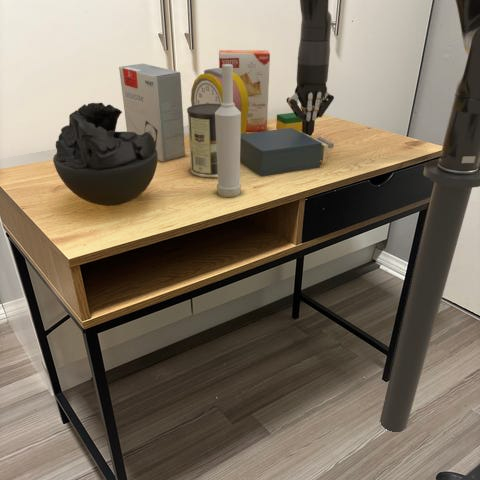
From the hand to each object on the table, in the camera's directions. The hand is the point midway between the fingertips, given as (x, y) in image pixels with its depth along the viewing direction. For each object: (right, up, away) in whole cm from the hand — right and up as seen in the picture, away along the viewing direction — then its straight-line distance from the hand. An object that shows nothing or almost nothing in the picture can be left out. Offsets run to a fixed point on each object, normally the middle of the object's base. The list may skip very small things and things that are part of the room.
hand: (307, 134), depth 132 cm
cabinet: (-8, -9, -5) cm, 13 cm away
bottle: (-20, -21, -22) cm, 36 cm away
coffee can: (-24, -12, -10) cm, 29 cm away
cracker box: (-17, +9, +19) cm, 27 cm away
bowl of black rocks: (-44, -24, -26) cm, 57 cm away
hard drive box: (-39, -4, +1) cm, 40 cm away
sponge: (-3, +4, +13) cm, 14 cm away
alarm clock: (-23, +2, +10) cm, 25 cm away
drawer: (-4, -7, -4) cm, 9 cm away
